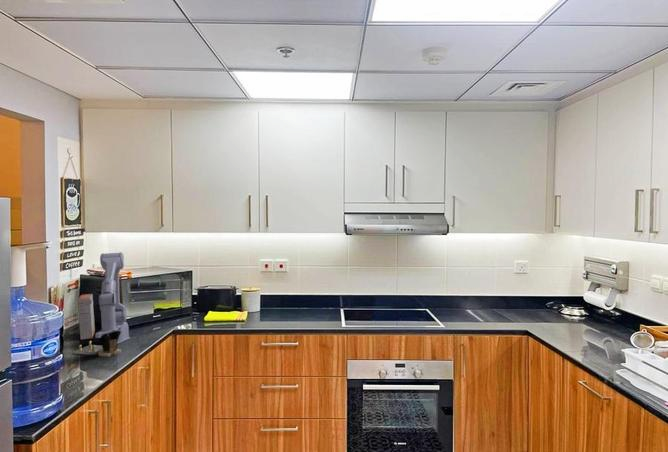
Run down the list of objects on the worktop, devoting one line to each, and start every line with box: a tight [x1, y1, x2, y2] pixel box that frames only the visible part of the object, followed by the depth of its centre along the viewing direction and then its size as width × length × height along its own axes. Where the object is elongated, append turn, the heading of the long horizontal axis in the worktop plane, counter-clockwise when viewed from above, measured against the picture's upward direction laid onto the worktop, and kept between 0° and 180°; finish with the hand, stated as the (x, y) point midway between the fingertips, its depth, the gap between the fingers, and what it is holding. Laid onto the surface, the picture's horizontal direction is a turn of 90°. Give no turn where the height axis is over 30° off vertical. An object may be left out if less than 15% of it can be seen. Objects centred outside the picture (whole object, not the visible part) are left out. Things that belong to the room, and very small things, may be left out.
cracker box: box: [77, 293, 96, 340], centre depth 233 cm, size 14×6×21 cm, turn 23°
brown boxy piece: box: [97, 339, 122, 357], centre depth 203 cm, size 8×9×6 cm
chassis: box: [73, 340, 103, 356], centre depth 207 cm, size 10×11×4 cm
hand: (110, 349), depth 203 cm, fingers closed on brown boxy piece, 4 cm apart
